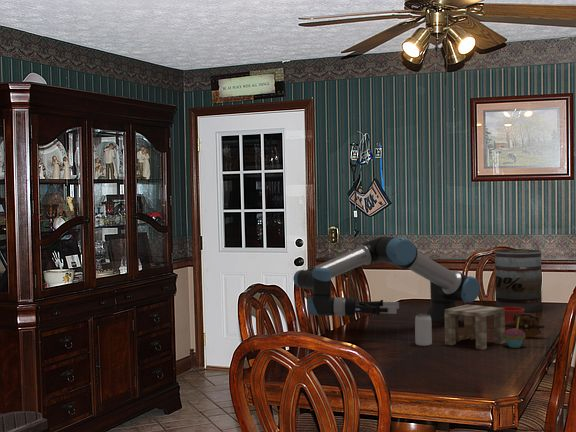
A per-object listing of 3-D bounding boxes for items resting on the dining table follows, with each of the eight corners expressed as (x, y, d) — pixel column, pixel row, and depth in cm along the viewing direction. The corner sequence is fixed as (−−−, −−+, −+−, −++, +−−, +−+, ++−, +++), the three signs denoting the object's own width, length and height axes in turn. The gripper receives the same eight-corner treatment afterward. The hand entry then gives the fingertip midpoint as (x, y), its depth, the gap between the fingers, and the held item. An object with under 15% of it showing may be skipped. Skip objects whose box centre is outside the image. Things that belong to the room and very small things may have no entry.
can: (413, 343, 318) (413, 313, 318) (429, 342, 319) (428, 313, 318) (417, 346, 312) (417, 316, 311) (433, 345, 312) (433, 315, 312)
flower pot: (525, 332, 335) (525, 310, 335) (499, 332, 338) (499, 310, 337) (523, 328, 346) (523, 306, 346) (497, 328, 348) (497, 306, 348)
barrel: (488, 307, 408) (487, 250, 408) (529, 305, 412) (528, 248, 411) (507, 314, 386) (506, 253, 385) (549, 312, 390) (549, 251, 389)
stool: (445, 344, 314) (444, 309, 314) (467, 338, 327) (467, 304, 326) (482, 349, 303) (482, 313, 302) (504, 342, 315) (504, 308, 314)
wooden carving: (503, 337, 326) (503, 313, 326) (504, 335, 330) (504, 312, 330) (545, 339, 320) (545, 315, 320) (545, 337, 325) (545, 313, 324)
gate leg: (457, 342, 315) (457, 313, 315) (450, 341, 318) (450, 312, 318) (476, 338, 324) (476, 309, 323) (469, 337, 326) (469, 308, 326)
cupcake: (526, 345, 310) (525, 314, 309) (525, 349, 302) (524, 318, 301) (503, 344, 312) (503, 314, 312) (502, 348, 304) (501, 317, 304)
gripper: (349, 311, 333) (399, 312, 329) (341, 320, 309) (395, 321, 304) (349, 293, 333) (399, 294, 329) (341, 301, 309) (395, 302, 304)
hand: (397, 307), depth 317 cm, fingers open, 13 cm apart
